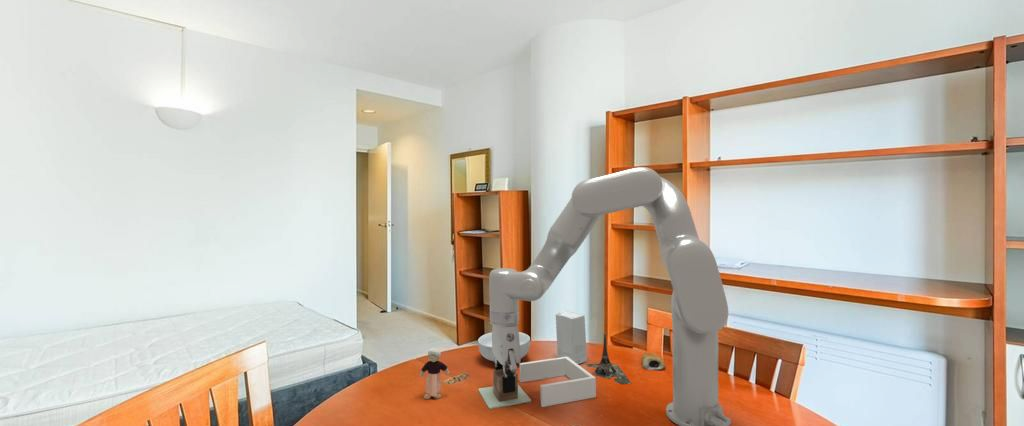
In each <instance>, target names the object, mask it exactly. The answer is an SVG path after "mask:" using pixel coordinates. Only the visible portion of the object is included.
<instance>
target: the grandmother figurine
mask: <svg viewBox="0 0 1024 426" xmlns="http://www.w3.org/2000/svg"><path fill="white" fill-rule="evenodd" d="M441 355H442V354H441V351H440V350H439V349H438V348H437V347H431V348H430V349H428V351H427V356H428V361H427V362H426V363H424V365H423V367H422V368H421V369H420V373H419V374H418V375H419V377H420V378H423V376H424V375H425V372H426V378H425V379H426V380H425V381H426V382H425V394H424V395H423V399H424V400H428V399H429V400H430V399H431V398H432V397H433V399H441V398H442V394H441V393H442V391H441V390H442V375H441V371H442V372H444V373H445V375H446V376H449V375H450V371H449V369H448V366H447V365H446V364H445V363H444V362H442V361H439V358H440V357H441Z"/></svg>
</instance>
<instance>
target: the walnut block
mask: <svg viewBox="0 0 1024 426" xmlns="http://www.w3.org/2000/svg"><path fill="white" fill-rule="evenodd" d="M509 368H510V367H507V368H506V369H507V370H508V369H509ZM492 374H493V375H492V379H493V380H492V382H493V383H492V384H493V385H492V386H493V393H494V395H495V396H496V398H497V399H498V401H499V402H502V401H507V400H513V399H518V385H519V382H518V381H519V380H518V379H519V376H518V373H516V372H515V374H516V376H515V391H514V392H509V393H503V379H502V377H504V372H503V369H499V370H495V369H493V370H492Z"/></svg>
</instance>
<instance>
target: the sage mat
mask: <svg viewBox="0 0 1024 426" xmlns="http://www.w3.org/2000/svg"><path fill="white" fill-rule="evenodd" d="M477 391H478V392H479V394H480V396H481V398H482V400H484V403H485V404H486V407H488V409H489V410H493V409H499V408H504V407H509V406H515V405H521V404H525V403H526V404H527V403H531V402H532V399H531V398H530V397H529V395H528V394H527V393H526V392H525V391H524V390H523V389H522V387H521V386H520V385H519V384H518V399H513V400H507V401H502V402H499V401H498V399H497V398H496V396H495V395H494V393H493V385H492V386H487V387H480V388H478V389H477Z"/></svg>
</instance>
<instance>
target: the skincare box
mask: <svg viewBox="0 0 1024 426" xmlns="http://www.w3.org/2000/svg"><path fill="white" fill-rule="evenodd" d="M585 317H586V316H585V314H579V313H576V312H572V311H569V310H567V311H563V312H559V313H555V325H556V327H555V329H556V331H555V332H556V348H557V358H560V357H568V358H570V359H571V360H573V361H574V362H575V363H577V364H578V365H579V364H583V363H587V362H588V356H587V338H586V335H587V334H586V321H585V319H586V318H585Z"/></svg>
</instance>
